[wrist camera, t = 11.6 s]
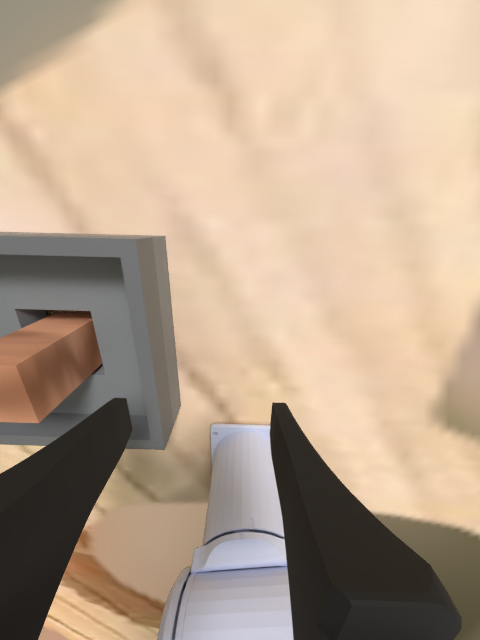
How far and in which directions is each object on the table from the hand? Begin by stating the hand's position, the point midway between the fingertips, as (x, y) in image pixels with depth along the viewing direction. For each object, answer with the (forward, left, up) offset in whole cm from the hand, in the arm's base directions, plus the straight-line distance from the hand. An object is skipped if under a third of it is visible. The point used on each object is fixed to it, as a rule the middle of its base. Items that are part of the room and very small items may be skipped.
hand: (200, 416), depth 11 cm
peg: (0, +12, -9) cm, 15 cm away
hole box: (0, +12, -9) cm, 15 cm away
